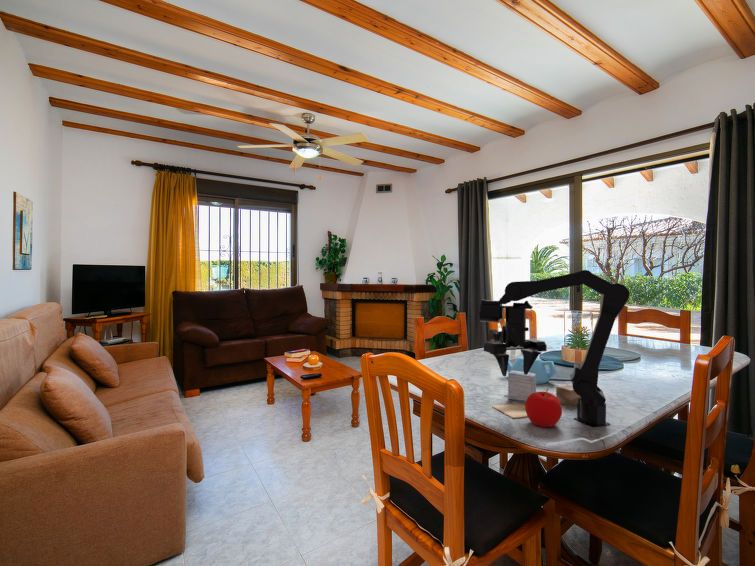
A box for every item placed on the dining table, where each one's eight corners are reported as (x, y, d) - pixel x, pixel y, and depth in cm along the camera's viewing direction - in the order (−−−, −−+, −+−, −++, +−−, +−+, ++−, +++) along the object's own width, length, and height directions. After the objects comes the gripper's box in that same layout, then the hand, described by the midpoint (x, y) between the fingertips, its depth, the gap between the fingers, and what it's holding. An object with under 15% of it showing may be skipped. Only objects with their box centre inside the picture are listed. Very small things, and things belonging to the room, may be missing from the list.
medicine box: (536, 400, 119) (536, 373, 119) (533, 403, 116) (533, 376, 116) (511, 395, 124) (511, 369, 124) (507, 399, 120) (507, 372, 120)
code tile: (541, 406, 116) (541, 404, 116) (526, 407, 114) (526, 405, 114) (518, 395, 126) (518, 393, 126) (503, 397, 124) (503, 395, 124)
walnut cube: (580, 404, 116) (580, 388, 116) (570, 406, 114) (570, 390, 113) (566, 399, 120) (566, 384, 120) (556, 401, 118) (556, 386, 118)
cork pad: (542, 415, 106) (542, 414, 106) (513, 418, 103) (513, 417, 103) (519, 403, 116) (519, 402, 116) (492, 407, 113) (492, 406, 113)
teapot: (520, 387, 134) (520, 358, 134) (500, 377, 149) (501, 350, 149) (559, 386, 136) (559, 357, 136) (535, 375, 151) (536, 349, 151)
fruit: (550, 434, 93) (550, 395, 93) (518, 422, 101) (518, 386, 100) (568, 426, 99) (569, 388, 99) (537, 415, 106) (537, 381, 106)
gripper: (522, 319, 121) (522, 367, 121) (473, 321, 115) (473, 371, 115) (548, 323, 110) (547, 375, 110) (495, 325, 105) (494, 380, 105)
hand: (515, 375), depth 111 cm, fingers open, 7 cm apart
